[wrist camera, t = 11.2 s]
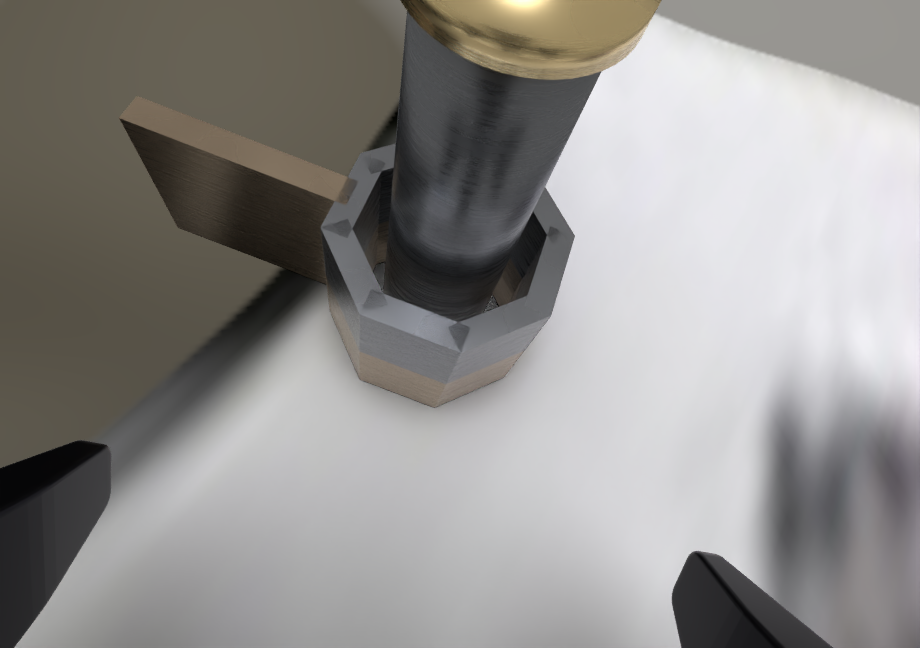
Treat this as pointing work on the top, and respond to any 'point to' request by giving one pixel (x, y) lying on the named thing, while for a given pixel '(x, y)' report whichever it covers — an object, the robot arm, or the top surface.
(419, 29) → the hinge pin
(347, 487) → the top surface
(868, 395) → the top surface
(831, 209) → the top surface
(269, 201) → the bronze hinge
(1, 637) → the robot arm
